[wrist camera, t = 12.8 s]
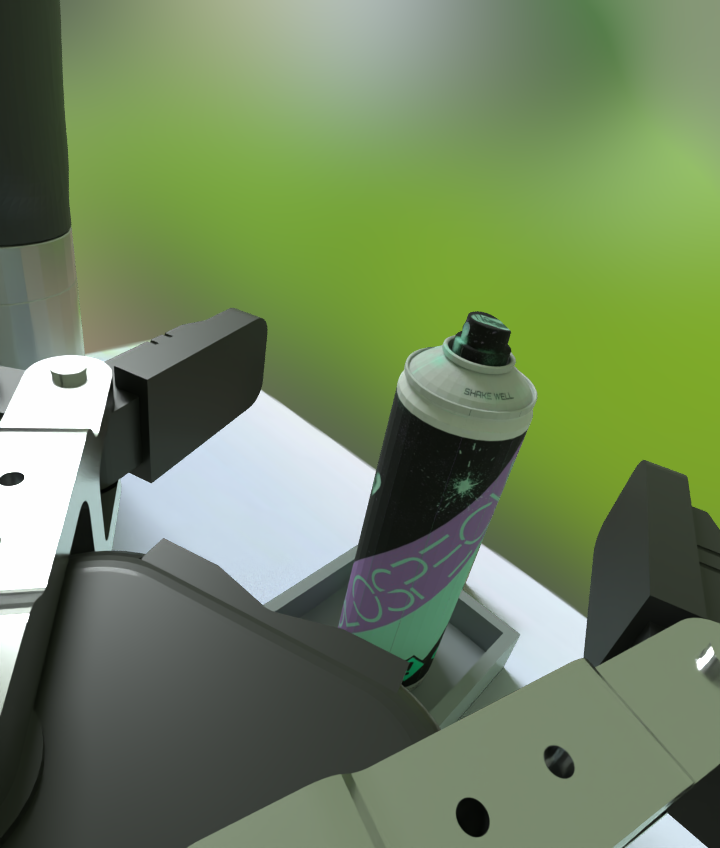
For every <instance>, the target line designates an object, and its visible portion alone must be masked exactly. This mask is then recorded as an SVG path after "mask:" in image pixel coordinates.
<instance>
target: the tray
mask: <svg viewBox="0 0 720 848" xmlns="http://www.w3.org/2000/svg"><path fill="white" fill-rule="evenodd" d="M357 547H358V545H357V546H355V547H353V548H352V549H350V550H349V551H347V552H346V553H344V554H343V555H341V556H339V557H338V558H336V559H335V560H333V561H332V562H330V563H328V564H327V565H325V566H324V567H322V568H321V569H319V570H318V571H316V572H314V573H313V574H311V575H310V576H308V577H307V578H305V579H303V580H302V581H300V582H299V583H297V584H296V585H294V586H293V587H291V588H289V589H288V590H286V591H285V592H283V593H282V594H280V595H278V596H277V597H275V598H274V599H272V600H271V601H269V602H268V603H266V604H264V605H263V606H265V607H266V608H267V609H269V610H271V611H274V612H277V613H281V614H285V615H289V616H293V617H297V618H301V619H305V620H309V621H313V622H317V623H321V624H325V625H329V626H333V627H337V628H338V625H339V621H340V617H341V613H342V609H343V604H344V600H345V596H346V592H347V588H348V584H349V580H350V576H351V572H352V568H353V564H354V560H355V556H356V551H357ZM519 636H520V634H519V633H518V632H516V631H515V630H514V629H513V628H511V627H510V626H509V625H507V624H506V623H505V622H504V621H502V620H501V619H500V618H498V617H497V616H496V615H495V614H493V613H492V612H491V611H489V610H488V609H487V608H486V607H484V606H483V605H482V604H480V603H479V602H478V601H476V600H475V599H474V598H473V597H471V596H470V595H469V594H467V593H466V592H465V591H464V590H462V591H461V593H460V596H459V598H458V601H457V603H456V605H455V608H454V610H453V613H452V615H451V618H450V620H449V623H448V625H447V627H446V630H445V632H444V635H443V637H442V640H441V642H440V644H439V647H438V649H437V652H436V654H435V657H434V659H433V662H432V664H431V666H430V669H429V671H428V673H427V675H426V677H425V679H424V680H423V681H422V682H421V684H420V685H419V686H417V687H416V688H415V689H414V690H412V691H410V692H411V693H412V694H413V695H414V696H415V697H416V698H417V699H418V700H419V702H420V703H421V704H422V705H423V706H424V707H425V708H426V709H427V711H428V712H429V713H430V715H431V716H432V717H433V719H434V720H435V721H436V723H437V724H438V725H439V727H440V728H441V730H442V729H444V728H446V727H448V726H449V725H451V724H453V723H455V722H457V721H458V719H459V718H460V717H461V716H462V715H463V714H464V713H465V711H466V710H467V709H468V708H469V707H470V706H471V704H472V703H473V702H474V701H475V700H476V699H477V697H478V696H479V695H480V694H481V693H482V692H483V690H484V689H485V688H486V687H487V686H488V685H489V683H490V682H491V681H492V680H493V679H494V678H495V676H496V675H497V674H498V673H499V672H500V671H501V669H502V668H503V667H504V665H505V663H506V662H507V660H508V658H509V656H510V654H511V652H512V650H513V648H514V646H515V644H516V642H517V640H518V638H519Z"/></svg>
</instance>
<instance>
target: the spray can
mask: <svg viewBox="0 0 720 848" xmlns="http://www.w3.org/2000/svg"><path fill="white" fill-rule="evenodd" d="M510 334H511V331H510V330H509V329H508V328H507V327H506V326H505V325H504V324H503V323H502V322H501V321H500V320H498V319H497V318H495V317H494V316H492V315H490V314H487V313H484V312H471V313H469V314H468V317H467V320H466V322H465V324H464V325H463V330H462V331H461V332H458V333H457V334H456V335H455V336H451V337H448V338H446V339H445V341H444V343H443V345H442V346H438V347H428V348H424V349H420V350H418V351H415V352H413V353H412V354H411V355H410V356H408V358H407V360H406V364H405V370H404V371H403V372H402V373H401V375H400V377H399V380H398V385H397V388H396V393H395V397H394V401H393V405H392V409H391V413H390V417H389V421H388V426H387V429H386V433H385V438H384V441H383V446H382V450H381V454H380V458H379V462H378V466H377V470H376V474H375V478H374V482H373V486H372V490H371V494H370V499H369V503H368V507H367V511H366V515H365V519H364V523H363V527H362V531H361V535H360V539H359V543H358V547H357V551H356V556H355V560H354V564H353V568H352V572H351V576H350V580H349V584H348V588H347V592H346V596H345V600H344V604H343V609H342V613H341V617H340V621H339V625H338V628H341V629H344V630H346V631H348V632H350V633H352V634H354V635H356V636H358V637H360V638H362V639H364V640H366V641H368V642H370V643H372V644H374V645H376V646H378V647H380V648H382V649H384V650H386V651H388V652H390V653H392V654H394V655H396V656H398V657H400V658H402V659H404V660H406V661H408V662H410V663H409V665H408V668H407V671H406V673H405V676H404V678H403V681H402V683H401V684H402V685H403V686H404V687H405V688H406V689H407V690H408V691H412V690H414V689H415V688H416V687H417V686H419V685H420V684H421V682H422V681H423V680H424V679H425V677H426V675H427V673H428V671H429V669H430V666H431V664H432V662H433V659H434V657H435V654H436V652H437V649H438V647H439V644H440V642H441V640H442V637H443V635H444V632H445V630H446V627H447V625H448V623H449V620H450V618H451V615H452V613H453V610H454V608H455V605H456V603H457V601H458V598H459V596H460V593H461V591H462V588H463V586H464V584H465V581H466V579H467V576H468V574H469V571H470V569H471V566H472V564H473V562H474V559H475V557H476V554H477V552H478V549H479V547H480V545H481V542H482V540H483V537H484V535H485V532H486V530H487V527H488V525H489V523H490V520H491V518H492V515H493V513H494V510H495V508H496V505H497V503H498V500H499V498H500V496H501V493H502V491H503V488H504V486H505V484H506V481H507V479H508V476H509V474H510V471H511V469H512V466H513V464H514V462H515V459H516V457H517V454H518V452H519V449H520V447H521V445H522V442H523V440H524V437H525V435H526V432H527V430H528V427H529V425H530V422H531V420H532V417H533V410H532V409H533V407H534V405H535V403H536V400H537V391H536V389H535V387H534V385H533V384H532V383H531V381H530V380H529V379H528V378H527V377H526V376H525V375H524V374H522V373H521V372H519V371H518V369H517V368H516V367H515V366H514V365H515V357H514V356H513V354H512V353H511V348H510V347H509V345H508V341H509V337H510Z"/></svg>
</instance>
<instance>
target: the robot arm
mask: <svg viewBox="0 0 720 848" xmlns="http://www.w3.org/2000/svg"><path fill="white" fill-rule="evenodd" d="M68 166H69V165H68V147H67V135H66V124H65V111H64V93H63V74H62V45H61V15H60V0H0V848H626V847H628V846H629V845H630V844H631V843H632V842H634V841H635V840H636V839H637V838H639V837H640V836H641V835H642V834H643V833H645V832H646V831H647V830H648V829H649V828H651V827H652V826H653V825H654V824H656V823H657V822H658V821H659V820H660V819H662V818H663V817H664V816H665V815H667V814H669V815H671V816H672V817H673V818H674V819H675V820H676V821H678V822H679V823H680V824H681V825H682V826H683V827H685V828H686V829H687V830H688V831H689V832H690V833H692V834H693V835H694V836H695V837H696V838H697V839H699V840H700V841H701V842H702V843H703V844H704V845H706V846H707V847H708V848H720V530H719V528H718V527H717V525H716V524H715V523H714V521H713V520H712V518H711V517H710V515H709V514H708V513H707V512H705V511H703V510H700V509H697V508H695V507H692V506H691V498H690V491H689V484H688V478H687V476H686V475H684V474H681V473H678V472H676V471H673V470H670V469H668V468H665V467H662V466H659V465H657V464H654V463H651V462H649V461H646V460H643V461H641V462H640V463H639V464H638V465H637V467H636V468H635V470H634V472H633V473H632V475H631V477H630V478H629V480H628V482H627V484H626V485H625V487H624V488H623V490H622V492H621V494H620V495H619V497H618V499H617V501H616V502H615V504H614V506H613V507H612V509H611V511H610V512H609V514H608V516H607V518H606V519H605V521H604V523H603V525H602V527H601V530H600V532H599V534H598V537H597V540H596V544H595V548H594V555H593V565H592V576H591V586H590V596H589V607H588V617H587V628H586V638H585V648H584V658H581V659H578V660H575V661H573V662H571V663H568V664H567V665H565V666H563V667H561V668H559V669H557V670H555V671H553V672H551V673H549V674H547V675H545V676H544V677H542V678H540V679H538V680H536V681H534V682H532V683H530V684H528V685H526V686H524V687H522V688H521V689H519V690H517V691H515V692H513V693H511V694H509V695H507V696H505V697H503V698H501V699H499V700H497V701H496V702H494V703H492V704H490V705H488V706H486V707H484V708H482V709H480V710H478V711H476V712H474V713H473V714H471V715H469V716H467V717H465V718H463V719H461V720H459V721H457V722H455V723H453V724H451V725H449V726H448V727H446V728H444V729H442V730H441V728H440V727H439V725H438V724H437V723H436V721H435V720H434V719H433V717H432V716H431V715H430V713H429V712H428V711H427V709H426V708H425V707H424V706H423V705H422V704H421V703H420V702H419V700H418V699H417V698H416V697H415V696H414V695H413V694H412V693H411V692H410V691H408V690H407V689H406V688H405V687H404V686H403V685H402V684H401V683H402V681H403V678H404V676H405V673H406V671H407V668H408V665H409V663H410V662H408V661H406V660H404V659H402V658H400V657H398V656H396V655H394V654H392V653H390V652H388V651H386V650H384V649H382V648H380V647H378V646H376V645H374V644H372V643H370V642H368V641H366V640H364V639H362V638H360V637H358V636H356V635H354V634H352V633H350V632H348V631H346V630H344V629H341V628H337V627H333V626H329V625H325V624H321V623H317V622H313V621H309V620H305V619H301V618H297V617H293V616H289V615H285V614H281V613H277V612H274V611H271V610H269V609H267V608H266V607H265V606H263V605H262V604H261V603H260V602H259V601H258V600H256V599H255V598H254V597H253V596H252V595H251V594H250V593H249V592H247V591H246V590H245V589H244V588H243V587H242V586H241V585H240V584H238V583H237V582H236V581H235V580H234V579H233V578H232V577H231V576H229V575H228V574H227V573H226V572H225V571H224V570H223V569H222V568H220V567H219V566H218V565H216V564H214V563H212V562H210V561H208V560H206V559H204V558H202V557H200V556H198V555H196V554H194V553H192V552H190V551H188V550H186V549H184V548H182V547H180V546H178V545H176V544H174V543H172V542H170V541H168V540H166V539H164V538H163V539H162V540H161V541H160V542H159V543H158V544H156V545H155V546H154V547H153V548H152V549H151V550H150V551H149V552H148V553H147V554H142V553H135V552H127V551H112V546H113V540H114V533H115V527H116V521H117V515H118V509H119V502H120V496H121V478H122V477H123V476H125V475H126V474H127V473H131V474H133V475H135V476H137V477H139V478H141V479H143V480H146V481H148V482H150V483H152V482H154V481H155V480H156V479H158V478H159V477H160V476H162V475H163V474H164V473H165V472H167V471H168V470H169V469H171V468H172V467H173V466H174V465H176V464H177V463H178V462H180V461H181V460H182V459H184V458H185V457H186V456H187V455H189V454H190V453H191V452H193V451H194V450H195V449H196V448H198V447H199V446H200V445H202V444H203V443H204V442H206V441H207V440H208V439H209V438H211V437H212V436H213V435H215V434H216V433H217V432H218V431H220V430H221V429H222V428H224V427H225V426H226V425H228V424H229V423H230V422H231V421H233V420H234V419H235V418H237V417H238V416H239V415H240V414H242V413H243V412H244V411H246V410H247V409H248V408H250V407H251V406H252V405H253V403H254V402H255V401H256V399H257V397H258V395H259V393H260V390H261V387H262V382H263V372H264V362H265V351H266V341H267V324H266V321H265V320H264V319H262V318H260V317H257V316H254V315H251V314H249V313H246V312H243V311H240V310H238V309H235V308H230V309H228V310H226V311H224V312H222V313H220V314H217V315H215V316H213V317H211V318H209V319H207V320H205V321H200V322H194V323H189V324H184V325H181V326H179V327H177V328H174V329H173V330H170V331H168V332H166V333H165V335H160V336H158V337H156V338H154V339H151V341H150V342H145V343H143V344H141V345H139V346H137V347H135V348H133V349H130V350H128V351H126V352H124V353H122V354H120V355H118V356H116V357H114V358H112V359H109V360H107V361H105V362H102V361H100V360H98V359H95V358H91V357H86V356H85V353H84V343H83V333H82V323H81V313H80V303H79V293H78V283H77V276H76V266H75V256H74V246H73V236H72V228H71V216H70V207H69V178H68V177H69V172H68V171H69V167H68Z"/></svg>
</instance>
